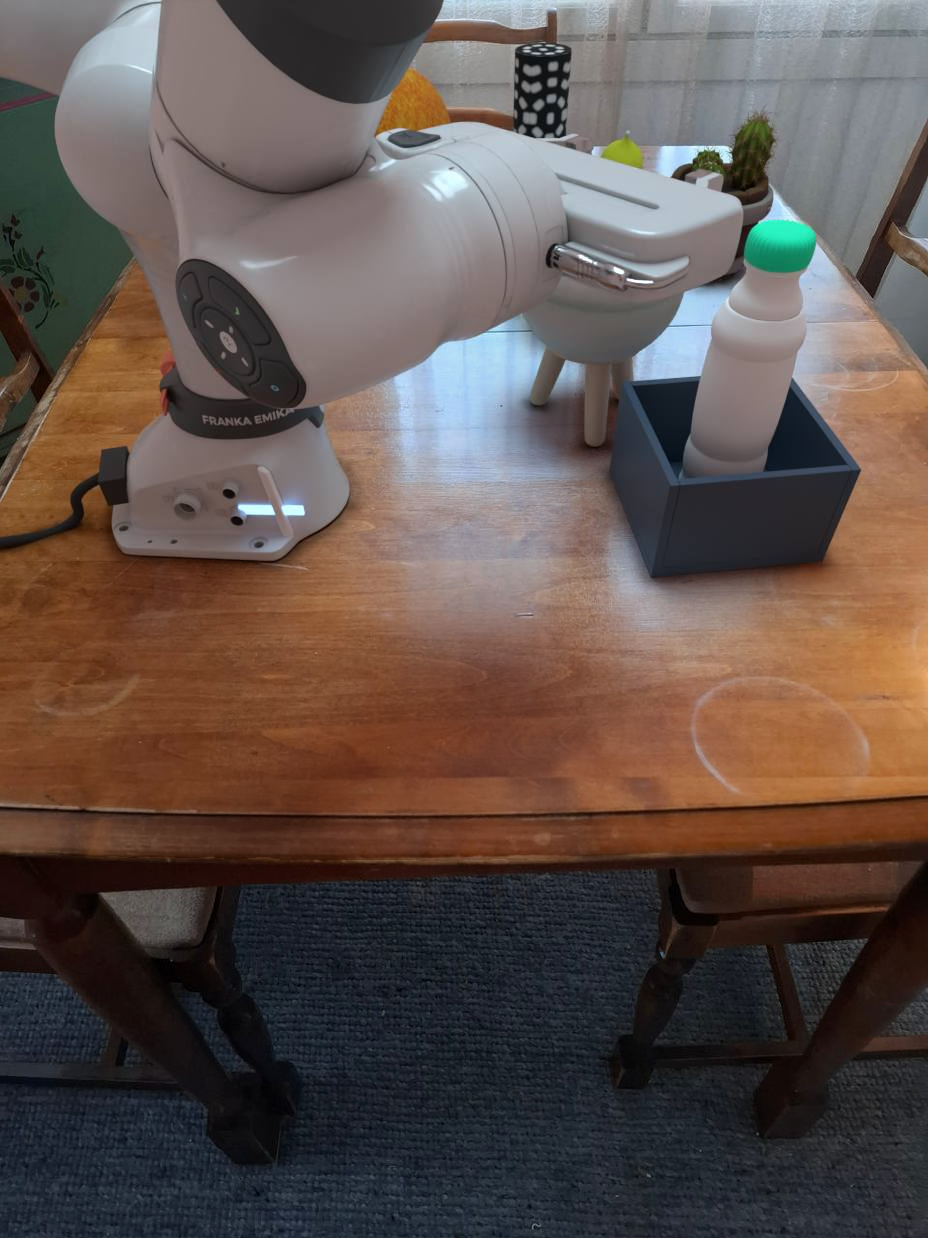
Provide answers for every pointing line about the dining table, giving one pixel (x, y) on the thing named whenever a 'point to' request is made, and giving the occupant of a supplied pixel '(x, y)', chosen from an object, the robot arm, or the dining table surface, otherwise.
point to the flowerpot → (742, 176)
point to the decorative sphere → (413, 106)
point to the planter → (594, 343)
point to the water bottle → (751, 355)
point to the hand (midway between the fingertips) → (644, 167)
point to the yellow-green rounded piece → (624, 152)
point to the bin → (726, 486)
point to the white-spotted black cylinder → (541, 89)
